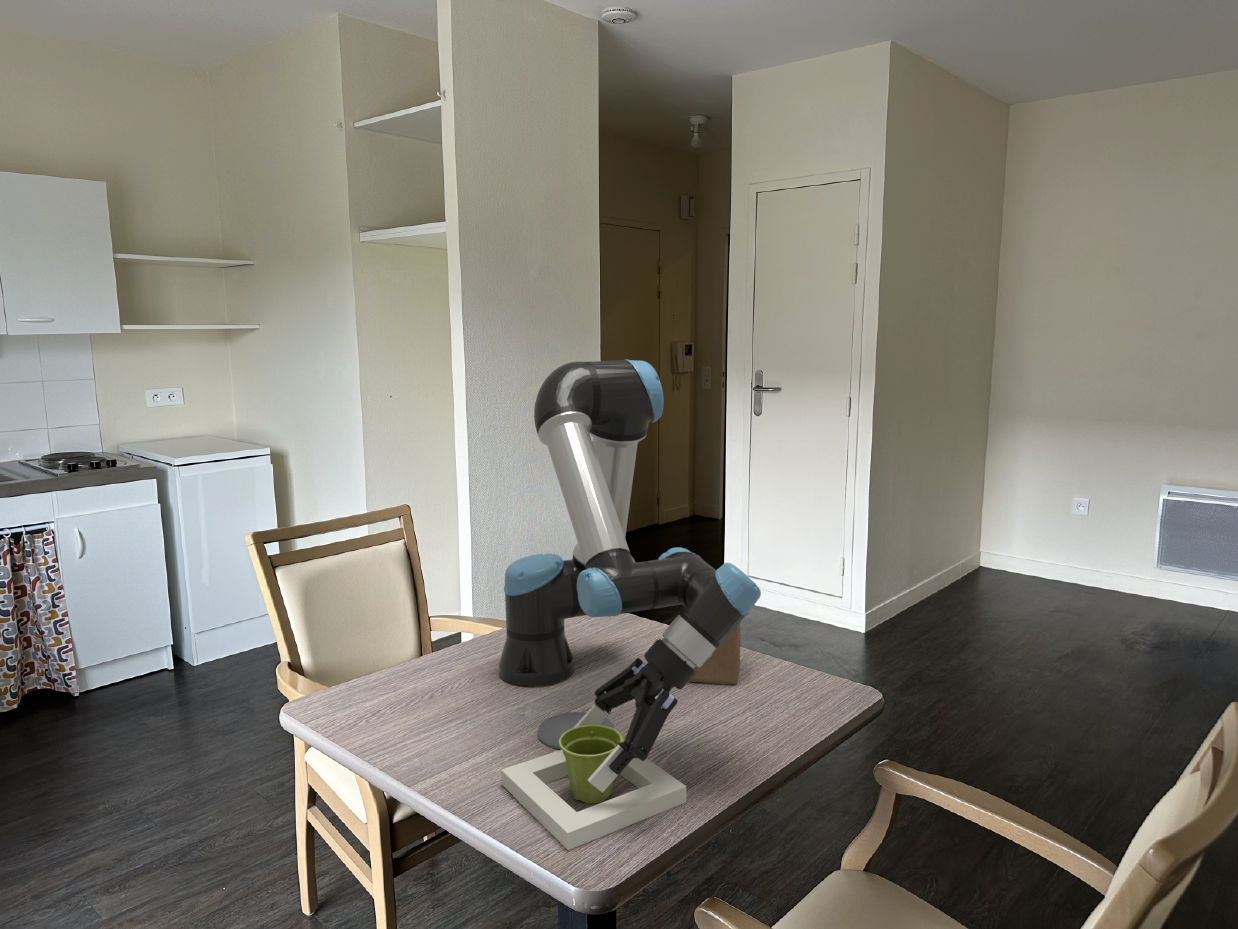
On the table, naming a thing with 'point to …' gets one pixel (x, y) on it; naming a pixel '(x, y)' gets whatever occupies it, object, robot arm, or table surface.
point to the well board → (597, 820)
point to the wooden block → (721, 662)
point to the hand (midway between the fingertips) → (583, 763)
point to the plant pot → (588, 758)
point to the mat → (561, 727)
